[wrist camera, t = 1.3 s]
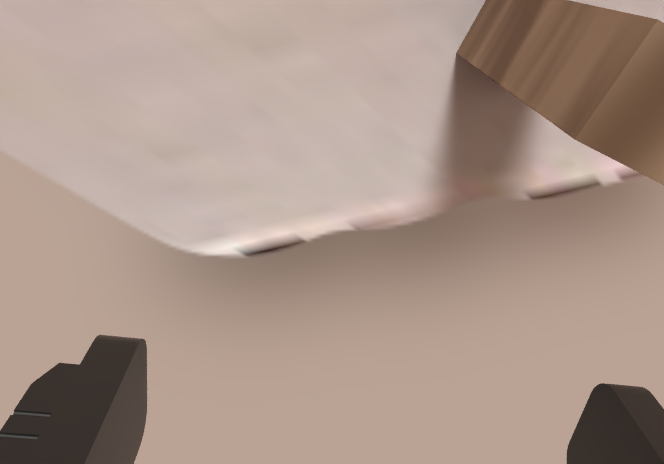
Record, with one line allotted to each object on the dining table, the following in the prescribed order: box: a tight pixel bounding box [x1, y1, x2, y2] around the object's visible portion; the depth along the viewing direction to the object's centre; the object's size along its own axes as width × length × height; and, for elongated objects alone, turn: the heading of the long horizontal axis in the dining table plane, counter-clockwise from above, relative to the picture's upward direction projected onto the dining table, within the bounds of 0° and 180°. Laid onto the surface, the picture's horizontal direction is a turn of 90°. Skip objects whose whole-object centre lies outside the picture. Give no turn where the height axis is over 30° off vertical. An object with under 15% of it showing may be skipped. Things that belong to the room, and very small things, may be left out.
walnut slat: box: [457, 0, 664, 185], centre depth 25 cm, size 4×4×16 cm
